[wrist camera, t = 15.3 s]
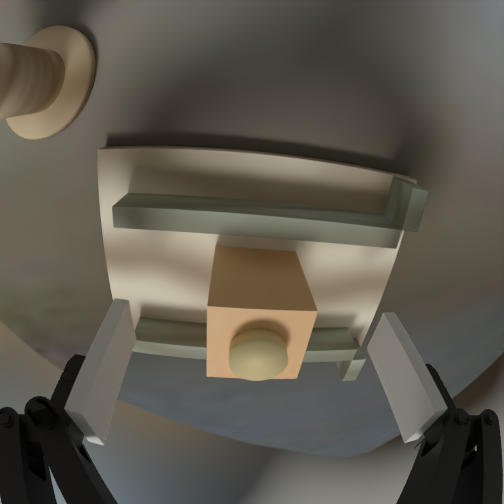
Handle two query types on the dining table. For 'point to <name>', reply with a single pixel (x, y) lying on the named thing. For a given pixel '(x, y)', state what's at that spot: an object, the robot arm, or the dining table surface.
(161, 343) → the board
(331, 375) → the dining table surface
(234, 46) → the dining table surface
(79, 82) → the bobbin
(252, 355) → the tab
